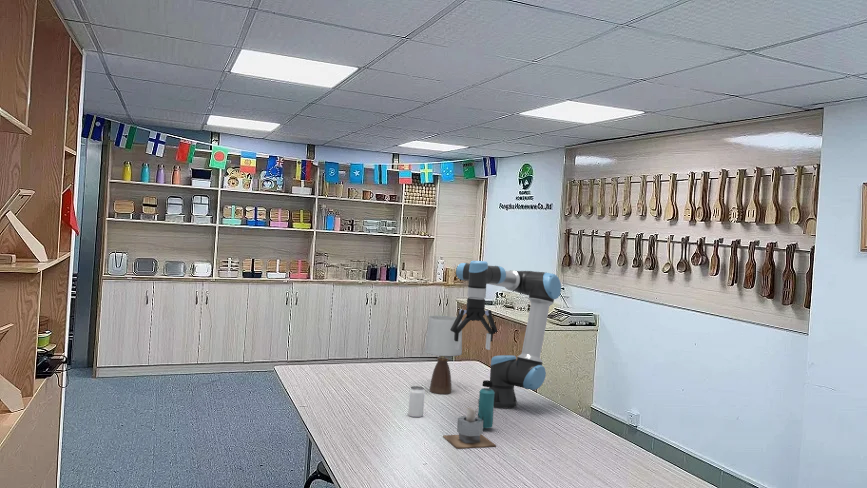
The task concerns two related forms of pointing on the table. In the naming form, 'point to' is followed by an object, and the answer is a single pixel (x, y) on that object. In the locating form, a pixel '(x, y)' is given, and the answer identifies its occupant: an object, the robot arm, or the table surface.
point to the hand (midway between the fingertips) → (472, 349)
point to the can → (416, 401)
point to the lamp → (441, 351)
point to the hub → (470, 426)
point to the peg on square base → (469, 441)
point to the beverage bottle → (486, 404)
